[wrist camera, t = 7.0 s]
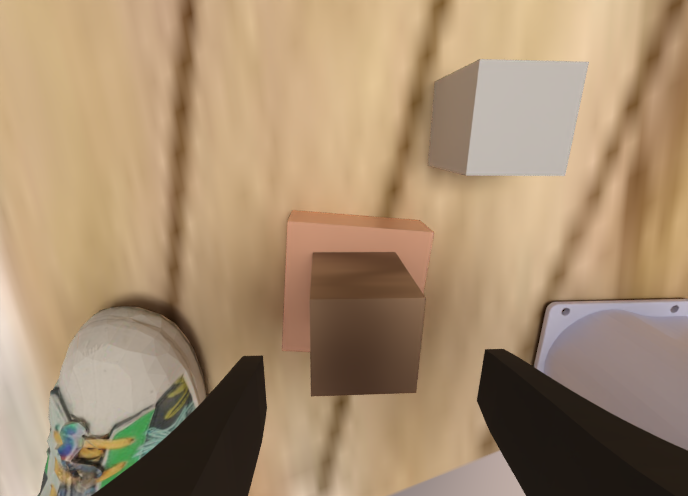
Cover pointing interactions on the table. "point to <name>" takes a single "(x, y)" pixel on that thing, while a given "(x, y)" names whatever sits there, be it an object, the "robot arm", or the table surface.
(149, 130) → the table surface
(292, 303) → the terracotta tile
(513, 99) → the light grey block
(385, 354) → the walnut block
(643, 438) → the robot arm
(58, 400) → the sneaker
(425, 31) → the table surface
